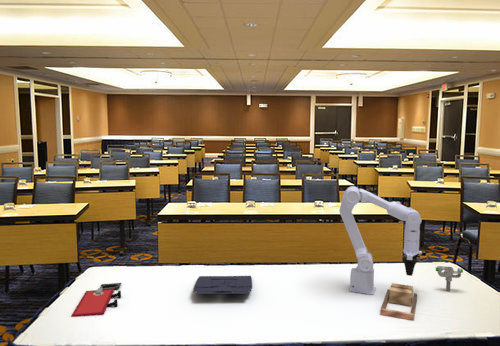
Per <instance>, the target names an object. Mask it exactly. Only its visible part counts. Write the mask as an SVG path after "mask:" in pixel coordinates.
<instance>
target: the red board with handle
mask: <svg viewBox="0 0 500 346" xmlns="http://www.w3.org/2000/svg"><path fill="white" fill-rule="evenodd" d="M121 285H122V282H117V283H116V282H115V283H114V282H113V283H101V285H100V287H98V288H97V289H94V290H86V291H85V292H84V294H83V295H82V297H81V299H80V300H79V302H78V304H77V306H76V307H75V309H74V311H73V312H72V314H71V317H72V318H74V317H75V318H77V317H92V316H104V315H105V312H106V310H107V308H110V307H112V306H113V307H114V308H117V307H118V305H119V304H118V299H121V298H122V294H121V293H122V291H121V290H119V289H120V287H121ZM115 290H118V291H117V293H114V292H115ZM116 297H117V299H114V300H113V301H112V302H110V301H111V300H112V299H113V298H116Z"/></svg>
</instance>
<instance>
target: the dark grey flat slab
mask: <svg viewBox="0 0 500 346" xmlns="http://www.w3.org/2000/svg"><path fill="white" fill-rule="evenodd" d="M252 279H253V277H252V276H251V275H225V276H224V275H206V276H205V275H200V276H198V277H197V279H196V281H195V284H194V286H193V292H195V294H196V295H213V294H214V295H215V294H216V295H218V294H220V295H221V294H222V295H223V294H224V295H225V294H228V295H229V294H236V295H237V294H243V295H244V294H245V295H246V294H249V292H251V291H252V289H253V280H252Z"/></svg>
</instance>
